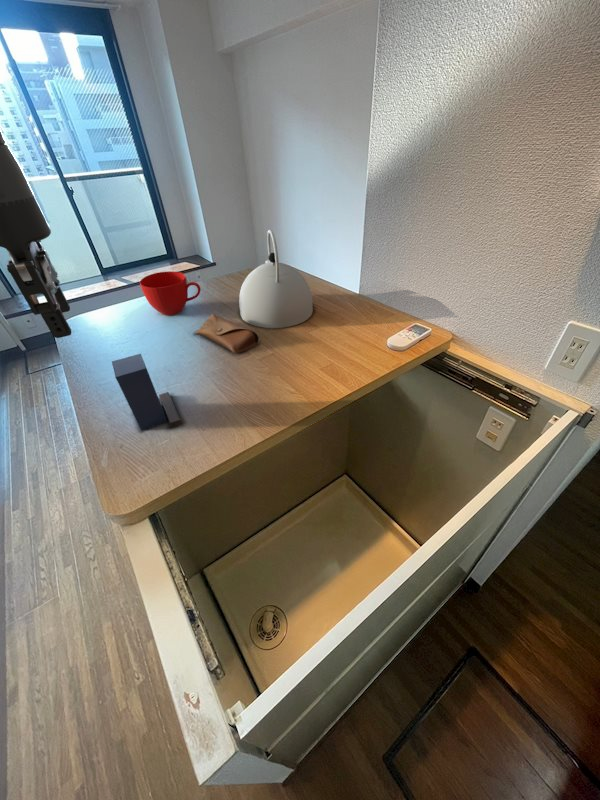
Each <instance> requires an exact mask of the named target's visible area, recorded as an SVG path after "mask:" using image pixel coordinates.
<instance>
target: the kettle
mask: <svg viewBox="0 0 600 800" xmlns="http://www.w3.org/2000/svg"><path fill="white" fill-rule="evenodd" d="M266 235H267V237H266V238H267V239H266V240H267V241H266V242H267V253H268V259H266V260H265V263H262V264H260V265H259V266H257V267H256V268H254V269H253V270H252V271H251V272H250V273H249V274H248V275H247V276H246V277H245V279H244V280H243V282H242V285H241V287H240V290H239V296H238V304H239V305H238V306H239V315H240V317H241V319H242V320H243V321H244V322H246V323H247V324H249V325H251V326H255V327H259V328H264V329H282V328H283V329H284V328H289V327H293V326H296V325H299V324H302V323H303V322H305V321H307V320H309V318H311V316H312V315H313V311H314V308H313V307H314V306H313V295H312V290H311V287H310V284H309V283H308V281H307V280H306V278H305V277H304V275H303V274H301V273H300V272H299V271H298V270H297V269H296V268H294V267H293V266H291V265H289V264H286V263H285V262H280V261H279V253H278V246H277V240H276V237H275V236H276V235H275V234H274V232H273V230H272V229H268V230H267V234H266ZM271 240H272V241H271ZM271 242H272V246H273V252H272V249H271Z"/></svg>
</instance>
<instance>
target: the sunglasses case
mask: <svg viewBox="0 0 600 800" xmlns="http://www.w3.org/2000/svg"><path fill="white" fill-rule="evenodd" d="M194 334H195V335H198V336H200V337H203V338H204V339H207V340H209V341H211V342H213V343H215V344H217V345H219V346H220V347H222V348H224V349H226V350H227V351H229V352H231V353H233V354H239V353H243V352H245V351H247V350H250V349H251V348H253V347H254V346H256V345H257V344H258V342H259V335H258V334H257V332H255V330H252V329H248V328H246V327H244V326H242V325H241V324H238V323H236V322H233V321H232V320H229V319H226V318H224V317H222V316H219V315H217V314H215V313H213V312H212V313H211V315H210V316H209V317H208V318H207V320H205V322H204V323H203V324H202V325H201V327H200V328H199V329H198V330H197V331H195V332H194Z"/></svg>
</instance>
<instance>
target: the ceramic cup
mask: <svg viewBox="0 0 600 800" xmlns="http://www.w3.org/2000/svg"><path fill="white" fill-rule="evenodd" d="M139 285H140V287H141V291H142V293H143V295H144V297H145V299H146V300H147V302H148V303H149V305H150V306H151V307H152V308H153V309H154V310H156V311H157V312H158V313H160V314H161V315H164V316H175V315H178V314H181V313H182V312H183V310H184V308H185V306H186V304H187V302H190V301H192V300H194V299H197V298H198V297H199V296H200V294H201V286H200V284H199V283H198V282H195V281H190V282H187V277H186V275H185V274H184V273H183V272H180V271H169V270H168V271H159V272H155V273H152V274H151V273H150V274H148V275H146V276H144V277H142V278H141V279H140V281H139ZM191 286H195V287H196V288H197V292H196V294H195V295H193V296H191V297H189V291H188V290H189V288H190V287H191Z"/></svg>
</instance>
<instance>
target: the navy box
mask: <svg viewBox="0 0 600 800" xmlns="http://www.w3.org/2000/svg"><path fill="white" fill-rule="evenodd" d="M111 365H112V368H113V373H114V376H115V379H116V381H117V383H118V386H119V387H120V390H121V391H122V394H123V396H124V398H125V400H126V402H127V404H128V406H129V408H130V411H131V412H132V414H133V417H134V419H135V421H136V423H137V425H138V427H139V429H140V431H143V430H146V429H148V428H149V429H150V428H152V427H155V426H158V425H160V424H163V423H165V422H168V418H167V416H166V413H165V410H164V408H163V405H162V402H161V400H160V397H159V395H158V393H157V391H156V389H155V386H154V383H153V381H152V378H151V376H150V373H149V371H148V368H147V366H146V363H145V361H144V358H143V356H142V353H138V354H134V355H131V356H127V357H126V356H125V357H123V358H120V359H119V358H118V359H116V360H112V361H111Z"/></svg>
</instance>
